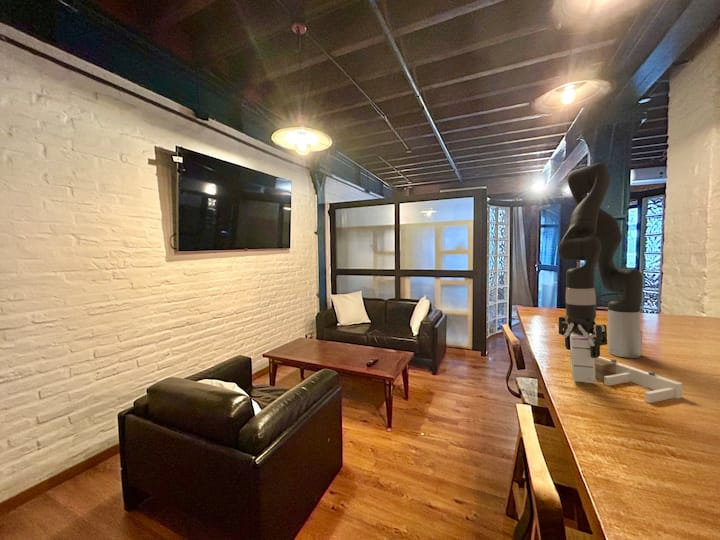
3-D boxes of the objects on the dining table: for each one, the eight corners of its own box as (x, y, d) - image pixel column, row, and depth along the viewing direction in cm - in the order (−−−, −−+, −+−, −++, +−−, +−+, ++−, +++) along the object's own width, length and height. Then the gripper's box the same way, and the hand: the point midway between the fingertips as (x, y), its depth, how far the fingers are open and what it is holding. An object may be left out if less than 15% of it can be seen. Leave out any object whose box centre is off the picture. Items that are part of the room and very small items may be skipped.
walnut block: (598, 371, 100) (598, 357, 100) (615, 378, 94) (615, 363, 94) (585, 374, 99) (585, 359, 98) (601, 380, 93) (601, 365, 93)
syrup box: (596, 384, 89) (595, 336, 88) (572, 380, 92) (570, 335, 91) (593, 376, 94) (592, 331, 93) (570, 373, 97) (569, 330, 96)
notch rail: (598, 367, 103) (598, 353, 103) (682, 397, 81) (682, 380, 81) (572, 371, 101) (572, 357, 101) (651, 403, 79) (651, 386, 79)
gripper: (614, 304, 85) (615, 359, 86) (569, 297, 99) (570, 345, 100) (593, 306, 84) (594, 362, 85) (550, 299, 98) (552, 348, 99)
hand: (581, 353), depth 92 cm, fingers closed on syrup box, 8 cm apart
